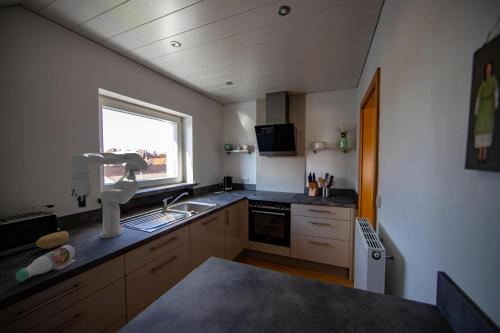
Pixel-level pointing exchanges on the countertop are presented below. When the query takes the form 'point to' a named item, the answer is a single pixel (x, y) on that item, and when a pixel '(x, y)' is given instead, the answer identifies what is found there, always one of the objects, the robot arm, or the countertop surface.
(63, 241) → the potato
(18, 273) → the milk bottle
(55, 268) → the pad
